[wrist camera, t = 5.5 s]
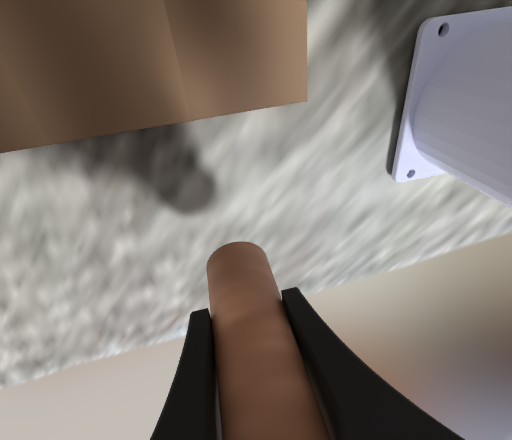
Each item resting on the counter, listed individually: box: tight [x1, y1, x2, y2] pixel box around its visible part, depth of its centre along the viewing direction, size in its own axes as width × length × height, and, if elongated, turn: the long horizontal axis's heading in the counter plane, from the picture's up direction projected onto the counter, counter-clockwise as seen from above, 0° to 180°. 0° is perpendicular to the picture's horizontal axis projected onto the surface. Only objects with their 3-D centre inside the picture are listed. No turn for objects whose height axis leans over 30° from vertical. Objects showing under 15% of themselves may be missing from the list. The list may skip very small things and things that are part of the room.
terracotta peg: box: [207, 242, 331, 440], centre depth 11 cm, size 3×3×8 cm
